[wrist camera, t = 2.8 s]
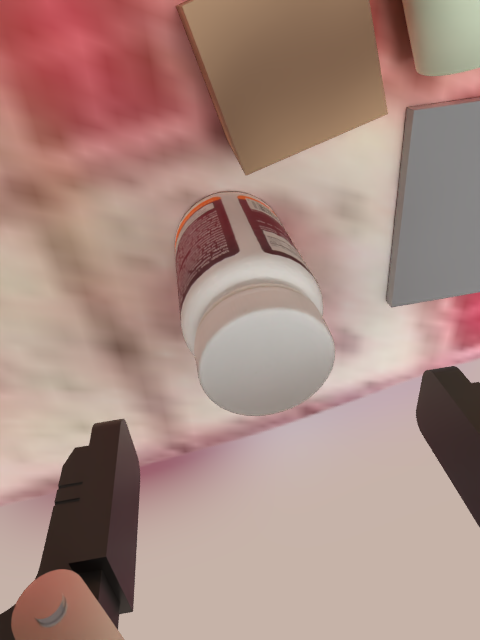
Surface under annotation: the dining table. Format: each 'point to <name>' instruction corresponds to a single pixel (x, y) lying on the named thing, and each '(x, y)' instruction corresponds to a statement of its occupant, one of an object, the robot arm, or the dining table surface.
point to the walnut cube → (286, 71)
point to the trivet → (437, 205)
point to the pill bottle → (249, 307)
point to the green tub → (444, 35)
